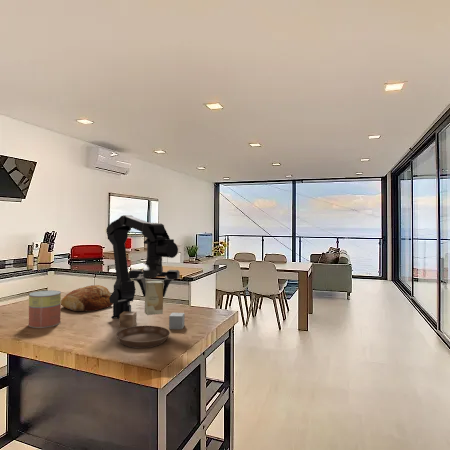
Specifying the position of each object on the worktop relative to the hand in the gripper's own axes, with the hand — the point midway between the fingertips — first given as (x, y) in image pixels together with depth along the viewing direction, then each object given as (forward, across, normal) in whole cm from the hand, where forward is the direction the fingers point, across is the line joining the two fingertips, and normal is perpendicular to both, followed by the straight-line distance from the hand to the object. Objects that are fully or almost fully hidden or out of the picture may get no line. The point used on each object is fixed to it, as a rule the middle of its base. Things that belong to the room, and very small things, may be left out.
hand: (154, 296), depth 139 cm
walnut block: (+12, -10, 0) cm, 15 cm away
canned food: (+12, -43, 0) cm, 45 cm away
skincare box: (+7, 0, 0) cm, 7 cm away
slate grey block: (+12, +9, 0) cm, 15 cm away
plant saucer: (+12, 0, -16) cm, 20 cm away
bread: (+12, -40, +28) cm, 50 cm away
